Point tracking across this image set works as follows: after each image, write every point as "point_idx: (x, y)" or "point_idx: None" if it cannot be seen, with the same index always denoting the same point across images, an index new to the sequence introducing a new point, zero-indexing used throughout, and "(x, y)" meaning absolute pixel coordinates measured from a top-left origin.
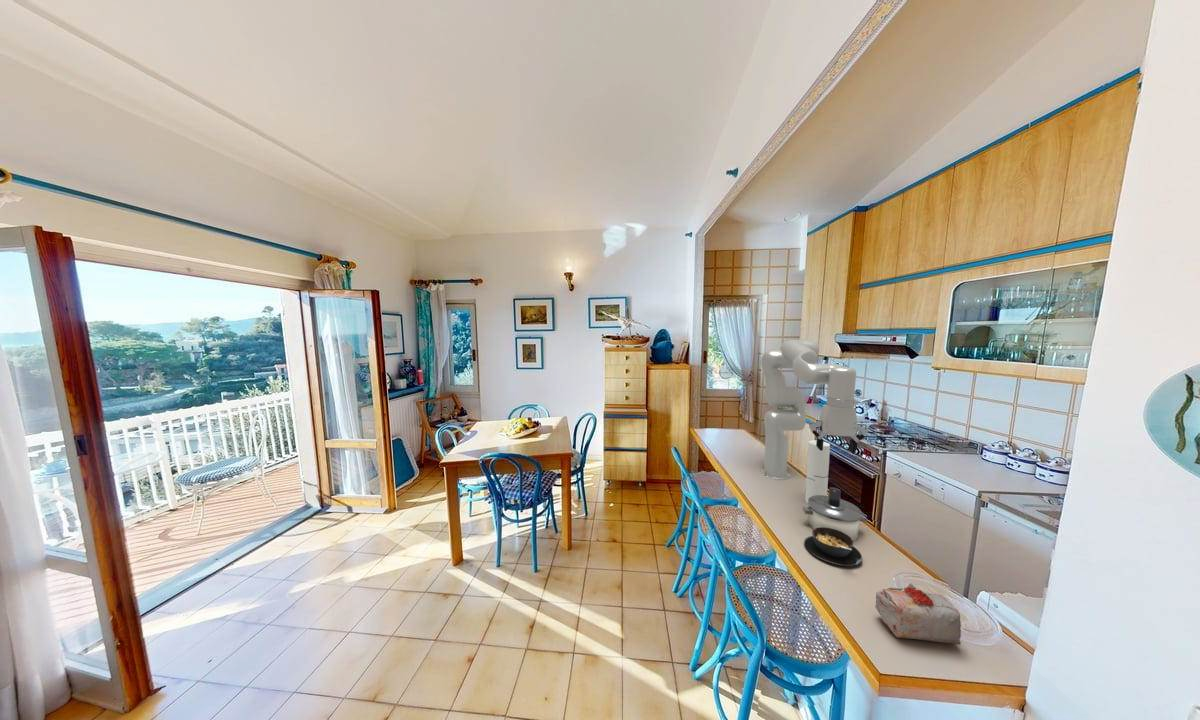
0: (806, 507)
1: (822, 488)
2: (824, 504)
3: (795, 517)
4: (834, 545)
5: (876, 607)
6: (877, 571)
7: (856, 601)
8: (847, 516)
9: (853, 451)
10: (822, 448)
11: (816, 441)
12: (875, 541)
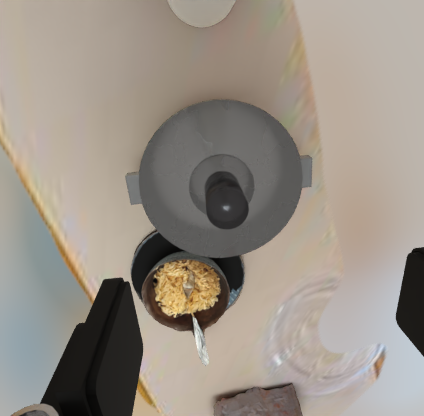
0: (136, 180)
1: (219, 7)
2: (189, 193)
3: (120, 135)
4: (193, 276)
5: (214, 409)
6: (259, 300)
7: (195, 381)
8: (243, 244)
9: (412, 337)
10: (137, 366)
11: (60, 362)
12: (307, 187)
